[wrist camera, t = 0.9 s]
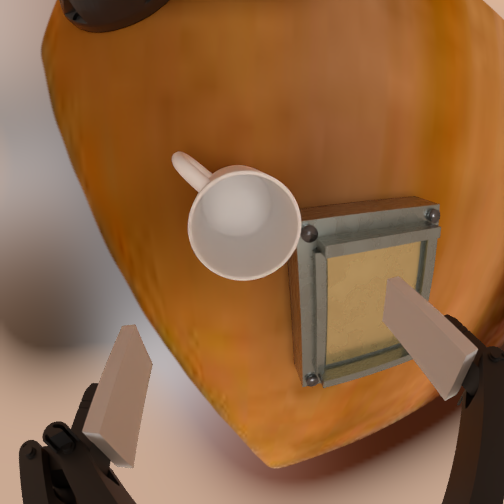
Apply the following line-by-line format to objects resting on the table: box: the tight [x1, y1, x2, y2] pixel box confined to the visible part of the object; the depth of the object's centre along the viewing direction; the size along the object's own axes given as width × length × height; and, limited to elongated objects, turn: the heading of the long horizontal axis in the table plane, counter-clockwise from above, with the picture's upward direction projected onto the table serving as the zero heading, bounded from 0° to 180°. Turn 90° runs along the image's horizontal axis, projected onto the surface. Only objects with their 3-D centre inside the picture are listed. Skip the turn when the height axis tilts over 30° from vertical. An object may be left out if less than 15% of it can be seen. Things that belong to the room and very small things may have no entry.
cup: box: [172, 151, 301, 280], centre depth 24 cm, size 8×12×10 cm
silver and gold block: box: [288, 196, 441, 388], centre depth 32 cm, size 22×18×8 cm
